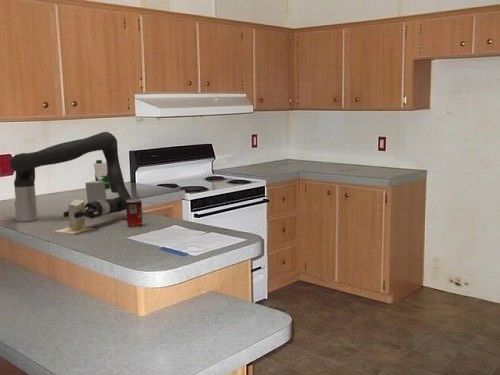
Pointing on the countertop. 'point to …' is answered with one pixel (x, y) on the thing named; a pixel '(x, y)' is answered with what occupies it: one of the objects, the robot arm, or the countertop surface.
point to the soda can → (134, 212)
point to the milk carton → (101, 173)
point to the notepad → (73, 231)
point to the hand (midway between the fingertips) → (69, 215)
